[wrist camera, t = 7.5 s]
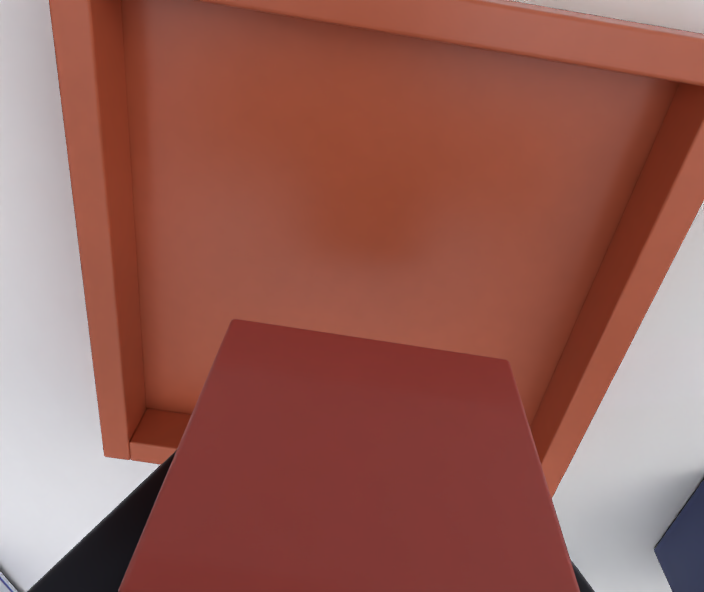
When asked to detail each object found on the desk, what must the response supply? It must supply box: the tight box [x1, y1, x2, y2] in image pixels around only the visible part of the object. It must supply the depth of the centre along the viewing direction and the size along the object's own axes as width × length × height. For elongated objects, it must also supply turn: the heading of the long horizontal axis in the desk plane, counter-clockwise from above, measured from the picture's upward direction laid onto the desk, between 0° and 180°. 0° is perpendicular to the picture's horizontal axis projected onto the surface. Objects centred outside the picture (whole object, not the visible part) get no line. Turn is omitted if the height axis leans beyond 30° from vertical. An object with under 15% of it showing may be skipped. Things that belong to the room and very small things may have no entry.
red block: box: [118, 319, 580, 592], centre depth 8 cm, size 4×4×4 cm
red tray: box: [49, 0, 704, 498], centre depth 15 cm, size 14×14×2 cm
